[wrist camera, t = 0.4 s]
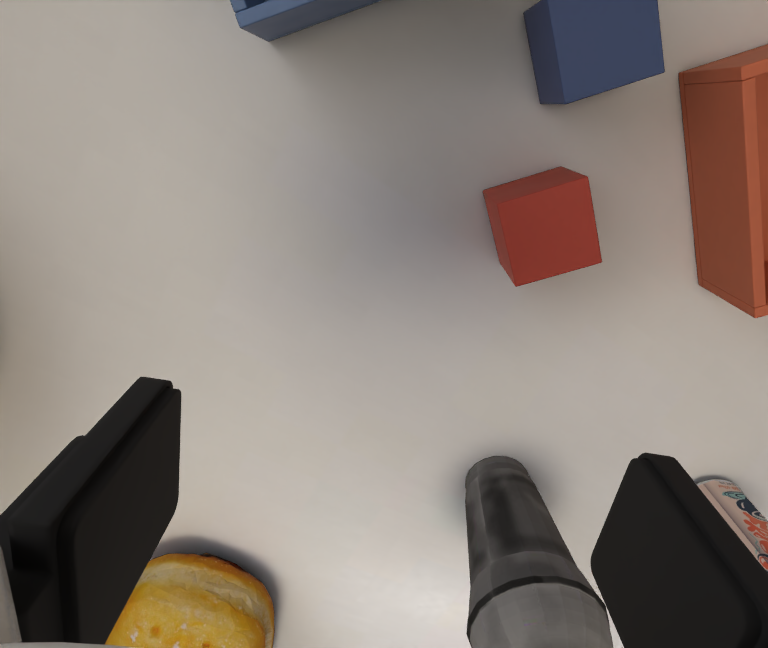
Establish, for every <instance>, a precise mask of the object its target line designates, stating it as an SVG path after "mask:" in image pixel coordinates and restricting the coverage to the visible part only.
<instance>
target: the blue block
mask: <svg viewBox="0 0 768 648" xmlns="http://www.w3.org/2000/svg"><path fill="white" fill-rule="evenodd" d="M523 14H524V19H525V25H526V30H527V35H528V41H529V46H530V51H531V57H532V62H533V67H534V73H535V78H536V83H537V89H538V94H539V99H540V104H568V103H571V102H574V101H577V100H580V99H584V98H587V97H590V96H593V95H596V94H599V93H602V92H605V91H608V90H611V89H614V88H618V87H621V86H624V85H627V84H630V83H633V82H636V81H639V80H642V79H645V78H648V77H652V76H655V75H658V74H661V73H664V72H665V69H664V60H663V50H662V41H661V31H660V21H659V12H658V2H657V0H541V1H539V2H538V3H537V4H535V5H534V6H532V7H531V8H529V9H528V10H526V11H525V12H524V13H523Z"/></svg>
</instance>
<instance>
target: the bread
mask: <svg viewBox="0 0 768 648" xmlns="http://www.w3.org/2000/svg"><path fill="white" fill-rule="evenodd" d="M273 639H274V608H273V603H272V599H271V597H270V595H269V593H268V591H267V590H266V588H265V586H264V584H263V583H262V582H261V581H259V580H258V579H257V578H255V577H254V576H252V575H251V574H249V573H248V572H247V571H245V570H244V569H242V568H241V567H240V566H238V565H237V564H235V563H232V562H230V561H228V560H225V559H223V558H220V557H218V556H215V555H212V554H208V553H204V554H202V555H197V554H180V553H175V554H166V555H163V556H160V557H157V558H155V559H152V560H151V561H149V562H148V564H147V566H146V568H145V569H144V571H143V573H142V575H141V577H140V579H139V581H138V583H137V584H136V586H135V588H134V590H133V592H132V594H131V596H130V598H129V599H128V601H127V603H126V605H125V607H124V609H123V611H122V613H121V614H120V616H119V618H118V620H117V622H116V624H115V626H114V628H113V629H112V631H111V633H110V635H109V637H108V639H107V641H106V643H105V644H104V645H115V646H125V647H135V648H272V646H273Z"/></svg>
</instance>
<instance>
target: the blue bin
mask: <svg viewBox="0 0 768 648" xmlns="http://www.w3.org/2000/svg"><path fill="white" fill-rule="evenodd" d="M378 1H381V0H230V2H231V5H232V7H233V10H234V12H235V13H236V14H235V15H236V18H237V21H238V24H239V26H240V28H242V29H244V30H246V31H248V32H250V33H252V34H254V35H256V36H258V37H260V38H262V39H264V40H266V41H271V40H274V39H277V38H280V37H282V36H285V35H288V34H291V33H293V32H296V31H299V30H302V29H304V28H307V27H310V26H313V25H315V24H318V23H321V22H324V21H326V20H329V19H332V18H335V17H337V16H340V15H343V14H346V13H348V12H351V11H354V10H357V9H359V8H362V7H365V6H368V5H370V4H373V3H376V2H378Z"/></svg>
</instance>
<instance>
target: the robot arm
mask: <svg viewBox="0 0 768 648" xmlns="http://www.w3.org/2000/svg"><path fill="white" fill-rule="evenodd" d="M180 423H181V392H180V390H179V389H173V385H172V382H171V381H168V380H161V379H155V378H148V377H140V378H139V379H137V381H136V382H135V383H134V384H133V385H132V386H131V387H130V388H129V389H128V390H127V391H126V392H125V393H124V395H123V396H122V397H121V398H120V399H119V400H118V401H117V402H116V403H115V404H114V405H113V406H112V407H111V409H110V410H109V411H108V412H107V413H106V414H105V415H104V416H103V417H102V418H101V419H100V420H99V421H98V423H97V424H96V425H95V426H94V427H93V428H92V429H91V430H90V431H89V432H88V433H87V434H86V435H85V436H83V435H82V436H78V437H76V438H75V439H74V440H72V441H71V442H70V443H69V444H68V445H67V446H66V447H65V448H64V449H63V450H62V451H61V453H60V454H59V455H58V456H57V457H56V458H55V459H54V460H53V461H52V462H51V463H50V464H49V465H48V466H47V467H46V468H45V469H44V470H43V471H42V472H41V473H40V475H39V476H38V477H37V478H36V479H35V480H34V481H33V482H32V483H31V484H30V485H29V486H28V487H27V488H26V489H25V490H24V491H23V492H22V493H21V494H20V495H19V496H18V498H17V499H16V500H15V501H14V502H13V503H12V504H11V505H10V506H9V507H8V508H7V509H6V510H5V511H4V512H3V513H2V514H1V515H0V648H135V647H125V646H115V645H104V644H105V643H106V641H107V639H108V637H109V635H110V633H111V631H112V629H113V628H114V626H115V624H116V622H117V620H118V618H119V616H120V614H121V613H122V611H123V609H124V607H125V605H126V603H127V601H128V599H129V598H130V596H131V594H132V592H133V590H134V588H135V586H136V584H137V583H138V581H139V579H140V577H141V575H142V573H143V571H144V569H145V568H146V566H147V564H148V562H149V560H150V558H151V556H152V554H153V553H154V551H155V549H156V547H157V545H158V543H159V541H160V539H161V538H162V536H163V534H164V532H165V530H166V528H167V526H168V524H169V523H170V521H171V519H172V517H173V515H174V513H175V510H176V506H177V502H178V495H179V459H180ZM591 570H592V574H593V576H594V579H595V581H596V583H597V585H598V588H599V590H600V592H601V595H602V597H603V599H604V602H605V604H606V606H607V609H608V611H609V613H610V616H611V618H612V620H613V623H614V625H615V627H616V630H617V632H618V634H619V637H620V639H621V641H622V644H623V646H624V648H768V573H767V571H766V570H765V569H764V568H763V566H762V565H761V564H760V563H759V562H758V560H757V559H756V558H755V557H754V555H753V554H752V553H751V552H750V550H749V549H748V548H747V547H746V545H745V544H744V543H743V542H742V540H741V539H740V538H739V537H738V535H737V534H736V533H735V532H734V531H733V529H732V528H731V527H730V526H729V524H728V523H727V522H726V521H725V519H724V518H723V517H722V516H721V514H720V513H719V512H718V511H717V509H716V508H715V507H714V506H713V505H712V503H711V502H710V501H709V500H708V498H707V497H706V496H705V495H704V493H703V492H702V491H701V490H700V488H699V487H698V486H697V485H696V483H695V482H694V481H693V480H692V478H691V477H690V476H689V475H688V474H687V472H686V471H685V470H684V469H683V467H682V466H681V465H680V464H679V462H678V461H677V460H676V459H675V458H674V457H670V456H664V455H657V454H650V453H643V454H641V455H640V456H639V457H638V459H637V458H635V459H632V460H631V461H630V463H629V465H628V468H627V470H626V472H625V475H624V477H623V480H622V482H621V485H620V487H619V489H618V492H617V494H616V497H615V499H614V502H613V504H612V506H611V509H610V511H609V514H608V516H607V519H606V521H605V523H604V526H603V528H602V531H601V533H600V536H599V538H598V540H597V543H596V545H595V548H594V550H593V553H592V556H591Z"/></svg>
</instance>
